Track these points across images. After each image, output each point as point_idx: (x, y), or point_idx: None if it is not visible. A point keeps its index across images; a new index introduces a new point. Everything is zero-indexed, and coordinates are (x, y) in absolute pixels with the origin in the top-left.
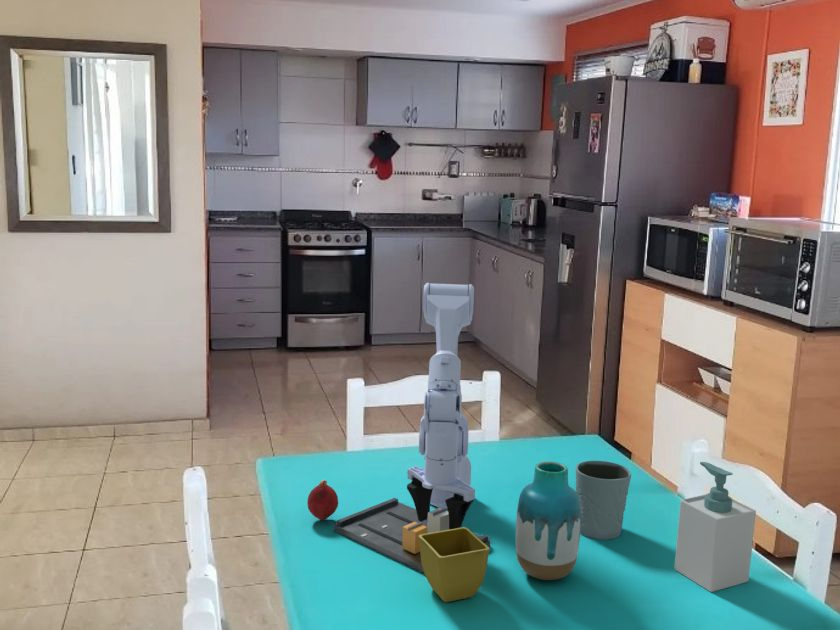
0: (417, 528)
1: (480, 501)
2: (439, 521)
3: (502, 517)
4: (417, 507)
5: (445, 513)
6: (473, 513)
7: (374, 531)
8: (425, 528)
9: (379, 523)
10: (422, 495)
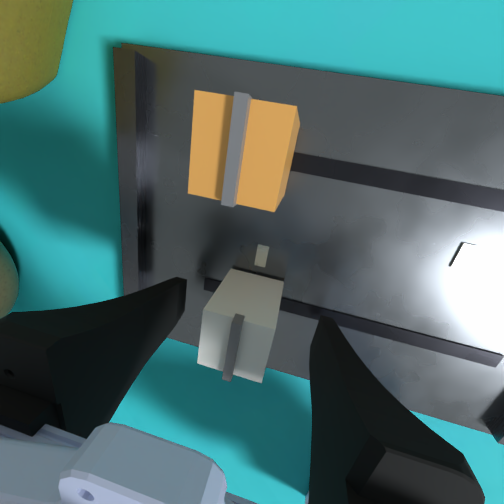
0: (213, 143)
1: (282, 483)
2: (213, 300)
3: (203, 436)
4: (342, 351)
5: (209, 350)
6: (264, 436)
7: (493, 192)
8: (189, 179)
9: (499, 271)
10: (332, 421)
